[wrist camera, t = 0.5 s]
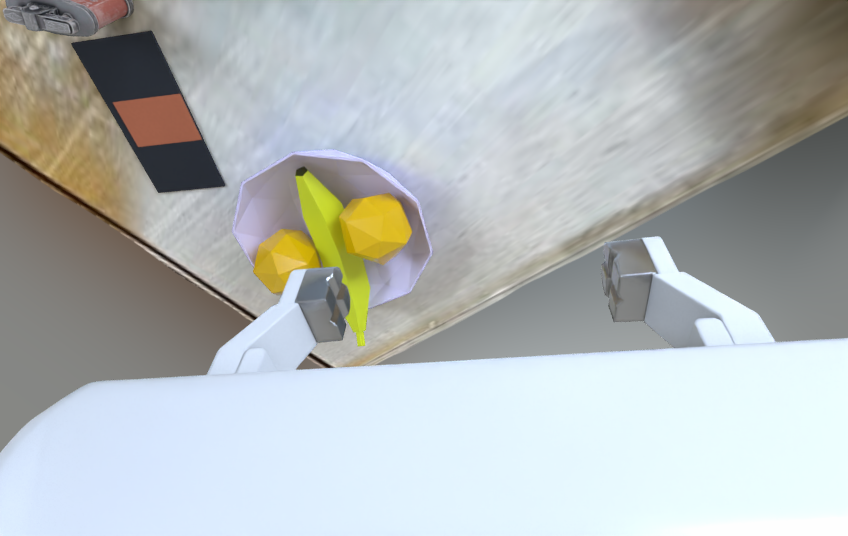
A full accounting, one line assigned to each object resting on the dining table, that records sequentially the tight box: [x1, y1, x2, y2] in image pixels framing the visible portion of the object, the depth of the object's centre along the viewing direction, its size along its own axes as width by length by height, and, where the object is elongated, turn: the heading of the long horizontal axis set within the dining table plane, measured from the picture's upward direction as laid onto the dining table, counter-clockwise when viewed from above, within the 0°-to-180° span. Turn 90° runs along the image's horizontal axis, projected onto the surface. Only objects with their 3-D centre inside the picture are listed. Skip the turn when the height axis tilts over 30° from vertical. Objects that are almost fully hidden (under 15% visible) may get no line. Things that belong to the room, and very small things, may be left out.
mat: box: [71, 31, 225, 193], centre depth 61 cm, size 20×10×1 cm, turn 8°
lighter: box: [3, 0, 134, 37], centre depth 48 cm, size 8×3×10 cm, turn 79°
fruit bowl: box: [232, 149, 433, 346], centre depth 66 cm, size 28×27×11 cm
